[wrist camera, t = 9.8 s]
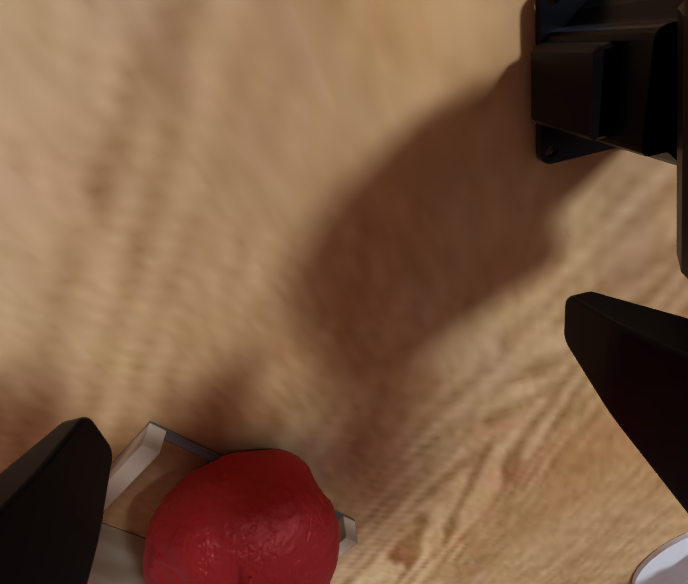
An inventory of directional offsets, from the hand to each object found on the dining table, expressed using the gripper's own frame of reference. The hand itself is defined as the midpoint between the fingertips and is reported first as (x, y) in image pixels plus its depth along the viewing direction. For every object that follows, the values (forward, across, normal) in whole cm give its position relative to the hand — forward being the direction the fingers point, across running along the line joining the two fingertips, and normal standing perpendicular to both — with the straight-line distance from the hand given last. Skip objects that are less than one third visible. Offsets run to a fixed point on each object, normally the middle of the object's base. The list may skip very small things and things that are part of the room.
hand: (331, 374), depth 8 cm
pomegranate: (+12, +8, +17) cm, 22 cm away
